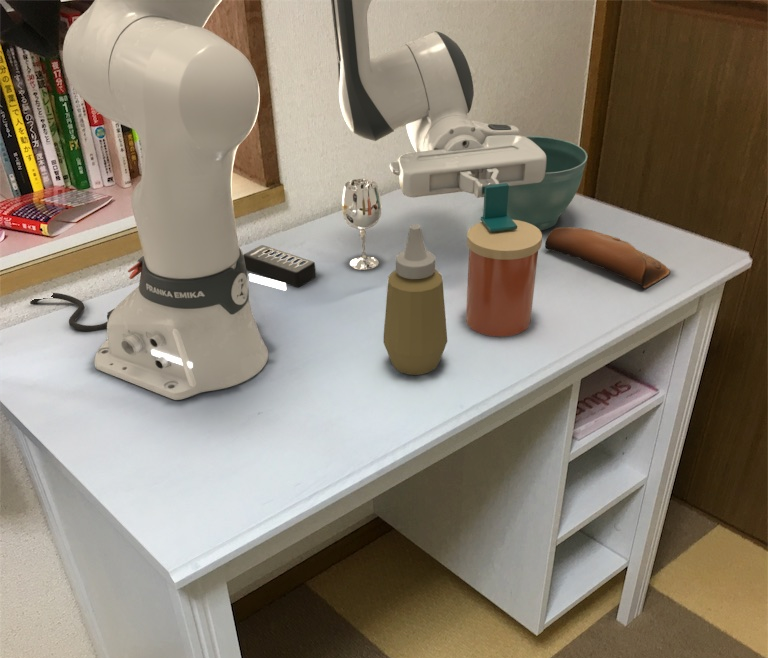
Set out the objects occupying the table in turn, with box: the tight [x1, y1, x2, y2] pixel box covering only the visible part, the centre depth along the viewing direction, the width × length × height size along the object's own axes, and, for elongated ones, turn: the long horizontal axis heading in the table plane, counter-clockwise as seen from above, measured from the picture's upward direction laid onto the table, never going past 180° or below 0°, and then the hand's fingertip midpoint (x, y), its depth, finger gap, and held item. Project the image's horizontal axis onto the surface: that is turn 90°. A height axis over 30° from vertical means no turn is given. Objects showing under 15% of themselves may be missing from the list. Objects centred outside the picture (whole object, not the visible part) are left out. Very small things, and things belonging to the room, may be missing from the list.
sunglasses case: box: [544, 226, 671, 289], centre depth 122 cm, size 18×7×7 cm
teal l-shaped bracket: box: [480, 183, 517, 232], centre depth 103 cm, size 4×4×4 cm
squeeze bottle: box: [383, 224, 448, 376], centre depth 98 cm, size 8×8×18 cm
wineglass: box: [341, 178, 382, 271], centre depth 121 cm, size 6×6×12 cm
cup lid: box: [466, 219, 543, 260], centre depth 104 cm, size 9×9×1 cm
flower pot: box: [507, 135, 588, 231], centre depth 131 cm, size 16×16×11 cm
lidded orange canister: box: [465, 247, 539, 338], centre depth 108 cm, size 9×9×11 cm
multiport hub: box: [243, 244, 317, 288], centre depth 123 cm, size 4×11×2 cm, turn 53°
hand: (488, 190), depth 106 cm, fingers closed
